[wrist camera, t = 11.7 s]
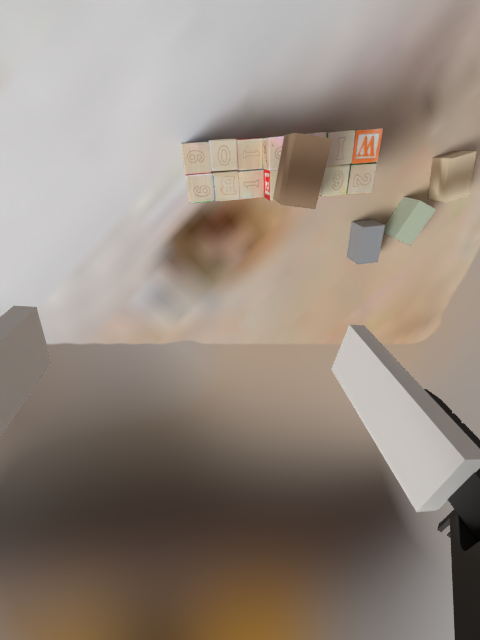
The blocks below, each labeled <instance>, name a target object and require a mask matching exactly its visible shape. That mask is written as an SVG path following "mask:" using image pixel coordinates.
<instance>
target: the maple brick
mask: <svg viewBox="0 0 480 640" xmlns="http://www.w3.org/2000/svg"><path fill="white" fill-rule="evenodd" d="M476 153H477V151H454V152H450V153H447V154H444V155H440V156H437V157H434V158H433V159H432V168H431V177H430V186H429V195H428V199H431V200H436V201H441V202H445V203H446V202H450V201H453V200H457V199H460V198H463V197H467V196H469V191H470V186H471V181H472V175H473V170H474V164H475V159H476Z"/></svg>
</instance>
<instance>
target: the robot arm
mask: <svg viewBox="0 0 480 640" xmlns="http://www.w3.org/2000/svg"><path fill="white" fill-rule="evenodd" d="M50 364H51V359H50V356H49V352H48V348H47V345H46V341H45V337H44V333H43V330H42V326H41V322H40V319H39V315H38V311H37V307H26V306H13V307H12V308H11V309H9V310H8V311H7V312H6V313H5V314H3V315H2V316H1V317H0V436H1V434H2V433H3V432H4V430H5V429H6V427H7V426H8V424H9V423H10V422H11V420H12V418H13V417H14V416H15V414H16V413H17V411H18V410H19V409H20V407H21V405H22V404H23V403H24V401H25V400H26V399H27V397H28V396H29V394H30V393H31V391H32V390H33V388H34V387H35V386H36V384H37V383H38V381H39V380H40V378H41V377H42V376H43V374H44V373H45V371H46V370H47V368H48V367H49V366H50ZM331 370H332V371H333V373H334V375H335V376H336V378H337V379H338V381H339V383H340V385H341V386H342V388H343V390H344V391H345V393H346V395H347V396H348V398H349V400H350V401H351V403H352V405H353V406H354V408H355V410H356V411H357V413H358V415H359V416H360V418H361V420H362V422H363V423H364V425H365V427H366V428H367V430H368V431H369V433H370V435H371V437H372V438H373V440H374V441H375V443H376V445H377V447H378V448H379V450H380V452H381V453H382V455H383V456H384V458H385V460H386V461H387V463H388V465H389V467H390V468H391V470H392V472H393V473H394V475H395V477H396V478H397V480H398V482H399V483H400V485H401V487H402V488H403V490H404V492H405V493H406V494H407V497H408V498H409V500H410V502H411V503H412V505H413V507H414V508H415V510H416V511H417V512H423V511H434V510H438V509H439V508H440V507H441V506H442V505H443V504H444V503H445V502H446V501H447V500H448V501H449V502H450V503H451V505H452V506H453V508H454V510H453V511H452V512H451V513H450V514H449V515H448V516H447V517H446V518H445V519H444V520H443V521H442V522H440V523H439V526H438V530H439V531H441V532H442V531H443V530H444V529H445V528H446V527H447V526H449V525H450V532H449V533H448V534H447V536H449V537H450V538H451V556H452V581H453V605H454V629H455V640H480V440H479V439H478V438H477V437H476V436H475V435H474V433H473V432H472V431H471V430H470V429H469V428H468V427H467V426H466V425H465V424H463V423H461V420H460V419H459V418H458V417H457V416H456V415H455V414H454V413H452V411H451V410H450V409H449V408H448V406H447V405H446V404H445V403H443V401H442V400H441V399H439V398H438V397H437V396H435V395H434V394H432V393H431V392H429V391H428V390H427V389H423V388H422V387H421V386H420V385H419V383H418V382H417V381H416V380H415V379H414V378H413V377H412V376H411V375H410V374H409V373H408V372H407V371H406V370H405V368H403V366H402V365H401V364H400V363H399V362H398V361H397V360H396V359H395V358H394V357H393V356H392V355H391V354H390V353H389V351H388V350H387V349H386V348H385V347H384V346H383V345H382V344H381V343H380V342H379V341H378V340H377V339H376V338H375V336H374V335H373V334H372V333H371V332H370V331H369V330H368V329H367V328H366V327H365V326H363V325H349V327H348V330H347V332H346V335H345V337H344V340H343V342H342V345H341V347H340V350H339V352H338V355H337V357H336V359H335V362H334V364H333V367H332V369H331Z"/></svg>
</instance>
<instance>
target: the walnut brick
mask: <svg viewBox="0 0 480 640" xmlns="http://www.w3.org/2000/svg"><path fill="white" fill-rule="evenodd" d="M332 140H333V139H330V138H325V137H319V136H313V135H307V134H301V133H291V134H285V135H284V140H283V145H282V151H281V157H280V162H279V168H278V174H277V179H276V185H275V191H274V196H273V199H274V200H276V201H277V202H279V203H280V204H282V205H287V206H295V207H303V208H311V209H315V208H316V204H317V200H318V196H319V192H320V188H321V184H322V180H323V176H324V172H325V168H326V164H327V160H328V156H329V152H330V148H331V144H332Z"/></svg>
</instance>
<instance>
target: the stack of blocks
mask: <svg viewBox="0 0 480 640" xmlns="http://www.w3.org/2000/svg"><path fill="white" fill-rule="evenodd" d="M382 133H383V128H380V129H367V130H349V131H339V132H329V133H326V132H317V133H305V134H307V135H313V136H319V137H325V138H330V139H333V140H332V144H331V148H330V152H329V156H328V160H327V164H326V168H325V172H324V176H323V180H322V184H321V188H320V192H319V195H320V196H332V195H344V194H348V195H350V194H364V193H371V192H372V188H373V183H374V178H375V173H376V168H377V164H376V162H377V160H378V156H379V150H380V145H381V139H382ZM283 140H284V136H277V137H268V138H254V139H235V138H234V139H217V140H209V141H207V142H186V143H181V148H182V155H183V162H184V169H185V175H186V181H187V188H188V195H189V202H190V203H200V202H210V201H227V200H238V199H250V198H260V197H265V198H267V199H268V200H270V201H274V199H273V196H274V191H275V185H276V179H277V174H278V168H279V162H280V157H281V151H282V145H283Z"/></svg>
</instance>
